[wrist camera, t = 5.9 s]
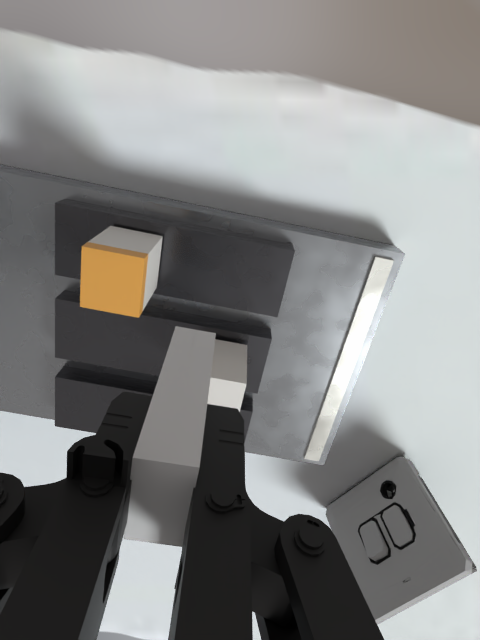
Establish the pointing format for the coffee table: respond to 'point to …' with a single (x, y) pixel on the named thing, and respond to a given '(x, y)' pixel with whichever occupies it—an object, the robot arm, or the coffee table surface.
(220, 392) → the block
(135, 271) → the block
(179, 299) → the panel
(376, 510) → the electrical switch
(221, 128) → the coffee table surface
